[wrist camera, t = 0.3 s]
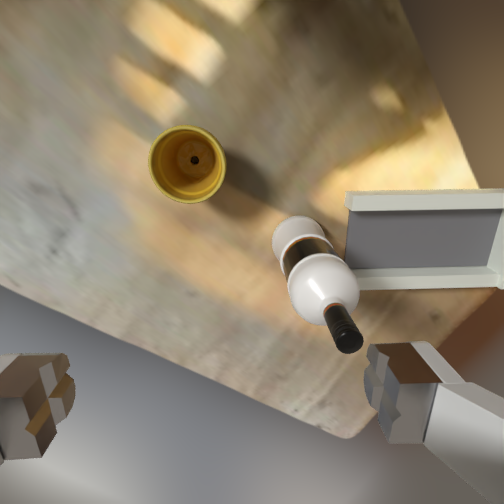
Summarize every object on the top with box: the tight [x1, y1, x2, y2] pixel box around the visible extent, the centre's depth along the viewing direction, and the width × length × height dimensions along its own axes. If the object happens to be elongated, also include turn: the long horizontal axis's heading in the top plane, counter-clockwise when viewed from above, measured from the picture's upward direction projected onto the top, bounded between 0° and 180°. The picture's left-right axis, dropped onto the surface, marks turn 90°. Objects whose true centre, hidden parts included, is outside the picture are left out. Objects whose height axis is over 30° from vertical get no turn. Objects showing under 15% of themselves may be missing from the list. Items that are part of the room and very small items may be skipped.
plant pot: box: [148, 125, 226, 204], centre depth 47 cm, size 10×10×10 cm
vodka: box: [272, 216, 364, 354], centre depth 43 cm, size 9×9×30 cm
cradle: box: [344, 189, 504, 290], centre depth 56 cm, size 17×30×5 cm, turn 91°
